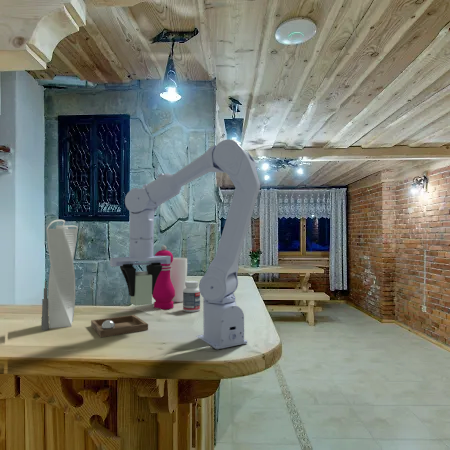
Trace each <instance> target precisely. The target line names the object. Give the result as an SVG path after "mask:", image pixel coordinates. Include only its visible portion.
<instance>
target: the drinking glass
mask: <svg viewBox="0 0 450 450" xmlns="http://www.w3.org/2000/svg"><path fill="white" fill-rule="evenodd" d="M170 265H171V266H172V267H171V268H172V269H171V270H170V278H171V282H172V284H173V287H174V290H175V296H174V298H173V299H172V301H173V302H174V303H183V290H184V289H185V288H186V286H185V282H186V281H188V280H187V279H188V278H187V277H188V258H187V257H173V261H172V263H171V264H170Z"/></svg>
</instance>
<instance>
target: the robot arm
mask: <svg viewBox="0 0 450 450" xmlns="http://www.w3.org/2000/svg"><path fill="white" fill-rule="evenodd" d="M256 167H257V166H256V161H255V159H254V158H253V156H252V155H251V153H249V151H247V150H246V149H244V148H243V147H242V146H241V145H240V144H239V143H238V142H237V141H235V140H234V139H230V138H229V139H228V138H227V139H223V140H221V141H220V142H219V143H217V144H216V145H212V146H210V147H209V148H208V149H207V150H206V151H205V152H204V153H203V154H201V155H200V156H199V157H197V158H195V159H194V160H193V161H191V162H189V163H188V164H187V165H185V166H184V167H182V168H181V169H179V170H178V171H177V172H175V173H169V172H165V173H163V172H161V173H159V174H158V175H157V178H156V179H154V180H152V181H151V182H149V183H144V184H143V185H142V187H141V188H139V187H138V188H137V187H133V188H131V189H130V190H128V192H127V193H126V196H125V198H124V204H125V208H126V209H127V211H129V247H128V248H129V250H128V251H129V256H123V257H122V256H120V257H110V259H109V266H110V267H115V268H116V267H119V269H120V271H121V273H122V276H123V278H124V280H125V282H126V287H127V290H128V295H129V296H130V297H131V296H134V295H135V273H136V272H137V268H136V267H135V266H145V265H146V266H145V267H146V271H147V272H148V274H151V275H152V294H153V291H154V287H155V283H156V280H157V278H158V276H159V274H160V272H161V270H162V265H161V264H171V256H155V255H154V236H155V235H154V234H155V233H154V231H155V229H154V224H155V223H154V222H155V221H154V219H155V213H156V212H157V210H158V208H159V206H161V205H162V204H164V203H166V202H167V201H169V200H171V199H173V198H174V197H176V196H177V195H179V194H180V193H181V190H182V187H183V186H185V185H187V184H189V183H191V182H193V181H195V180H197V179H198V178H200V177H202V176H204V175H206V174H208V173H221V174H222V173H223V174H224V173H225V174H226V175H227V176H228V178H229V179H230V181H231V182H232V184H233V186H234V189H235V190H234V192H233V195H232V199H231V203H230V206H229V209H228V213H227V216H226V218H225V219H226V220H225V222H224V223H225V224H224V226H223V230H222V233H221V237H220V239H219V244H218V247H217V249H216V254H215V256H214V257H213V259H212V261H211V262H210V264H209V266H208V268H207V271H206V273H205V274H204V275H202V277H201V278H200V281H199V282H198V288H199V291H200V296H201V297H202V298H203V317H202V319H203V321H202V322H203V325H202V326H203V329H202V330H203V332H202V333H203V334H200V335H196V336H195V337H197V338H198V339H200V340H202V341H204V342H205V343H206V344H208V346H210V347H211V348H213V349H215V350H220V349H226V348H230V347H235V346H240V345H244V344H248V340H246V339H245V315H244V311H243V310H242V308H241V307H240V306H238V305H237V303H236V302H237V301H236V296H235V292H236V290H237V289H238V286H239V278H238V272H239V268H240V267H239V259H240V256H241V251H242V249H243V245H244V242H245V238H246V236H247V232H248V228H249V225H250V222H251V220H252V216H253V212H254V209H255V205H256V203H257V199H258V195H259V193H260V188H261V182H260V179H259V176H258V171H257V168H256Z"/></svg>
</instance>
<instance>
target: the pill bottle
mask: <svg viewBox="0 0 450 450" xmlns="http://www.w3.org/2000/svg"><path fill="white" fill-rule="evenodd" d="M185 286H186V288H185V289H184V290H183V302H182V309H183V311H184V312H187V313H195V312H199V311H200V310H201V293H200V291H199V281H197V280H186V282H185Z"/></svg>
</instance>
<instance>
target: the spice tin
mask: <svg viewBox="0 0 450 450" xmlns="http://www.w3.org/2000/svg"><path fill="white" fill-rule="evenodd" d="M130 304H132V305H133V306H135V307H136V306H137V307H138V306H144V305H147V306H148V305H152V304H153V297H152V275H151V274H148V272H147V270H146V271H143V270H141V271H140V270H139V271H136V273H135V295H134V296H130Z"/></svg>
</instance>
